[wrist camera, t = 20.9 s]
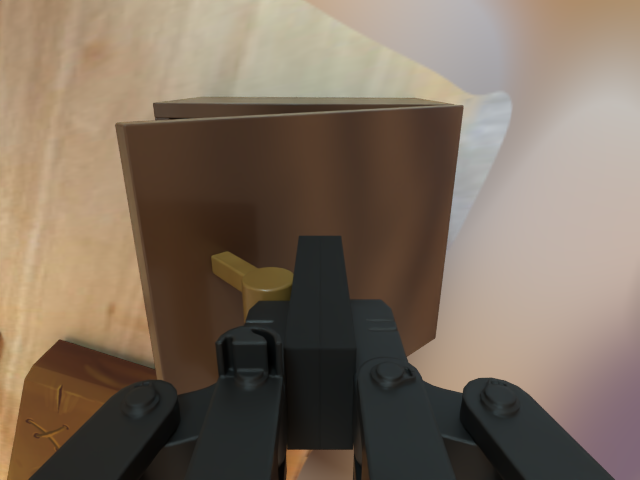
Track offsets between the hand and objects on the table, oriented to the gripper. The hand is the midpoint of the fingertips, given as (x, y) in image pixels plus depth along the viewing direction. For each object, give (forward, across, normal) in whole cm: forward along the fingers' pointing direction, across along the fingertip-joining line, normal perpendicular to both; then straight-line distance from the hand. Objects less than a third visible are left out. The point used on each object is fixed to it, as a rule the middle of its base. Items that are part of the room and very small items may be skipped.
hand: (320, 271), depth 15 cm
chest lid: (+5, -1, +2) cm, 5 cm away
